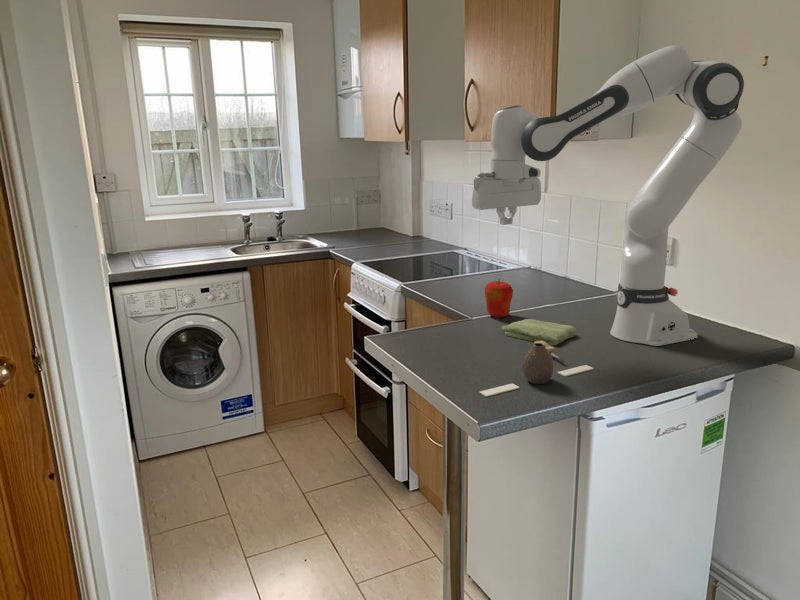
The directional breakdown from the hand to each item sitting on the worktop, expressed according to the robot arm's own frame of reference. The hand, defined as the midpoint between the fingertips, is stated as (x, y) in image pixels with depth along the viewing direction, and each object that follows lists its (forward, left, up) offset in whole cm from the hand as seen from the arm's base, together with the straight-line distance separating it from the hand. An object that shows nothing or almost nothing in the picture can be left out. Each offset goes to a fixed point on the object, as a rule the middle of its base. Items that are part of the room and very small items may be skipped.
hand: (506, 224), depth 162 cm
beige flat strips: (+4, +33, -31) cm, 45 cm away
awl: (-5, +19, -31) cm, 37 cm away
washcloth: (-9, +2, -32) cm, 33 cm away
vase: (+4, +32, -31) cm, 45 cm away
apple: (-5, -18, -31) cm, 36 cm away
